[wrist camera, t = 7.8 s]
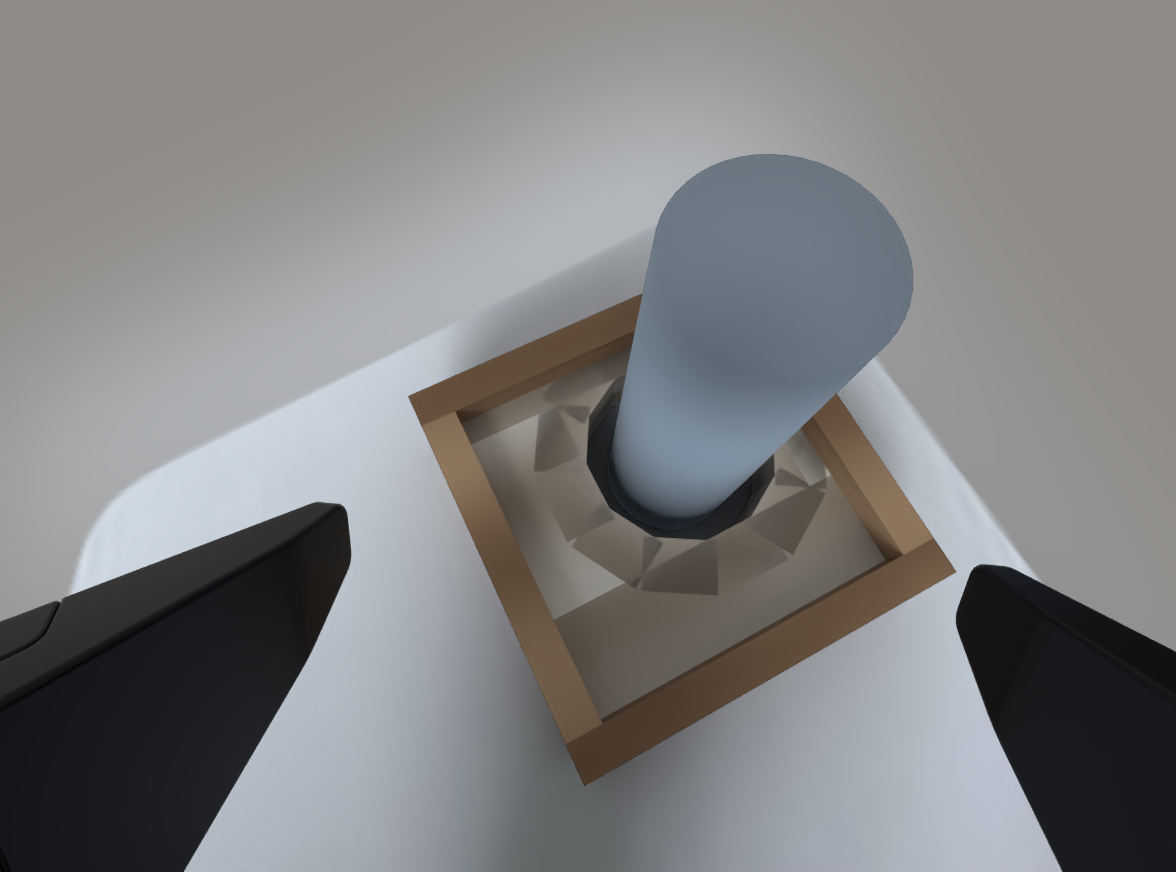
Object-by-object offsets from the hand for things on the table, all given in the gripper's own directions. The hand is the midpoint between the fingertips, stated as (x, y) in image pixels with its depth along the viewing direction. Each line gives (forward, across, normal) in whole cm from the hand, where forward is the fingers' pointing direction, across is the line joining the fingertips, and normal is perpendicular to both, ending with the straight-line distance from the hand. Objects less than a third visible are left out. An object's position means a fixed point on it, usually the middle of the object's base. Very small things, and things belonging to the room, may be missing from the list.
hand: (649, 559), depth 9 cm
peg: (+11, -1, +4) cm, 12 cm away
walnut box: (+10, -1, +5) cm, 12 cm away
